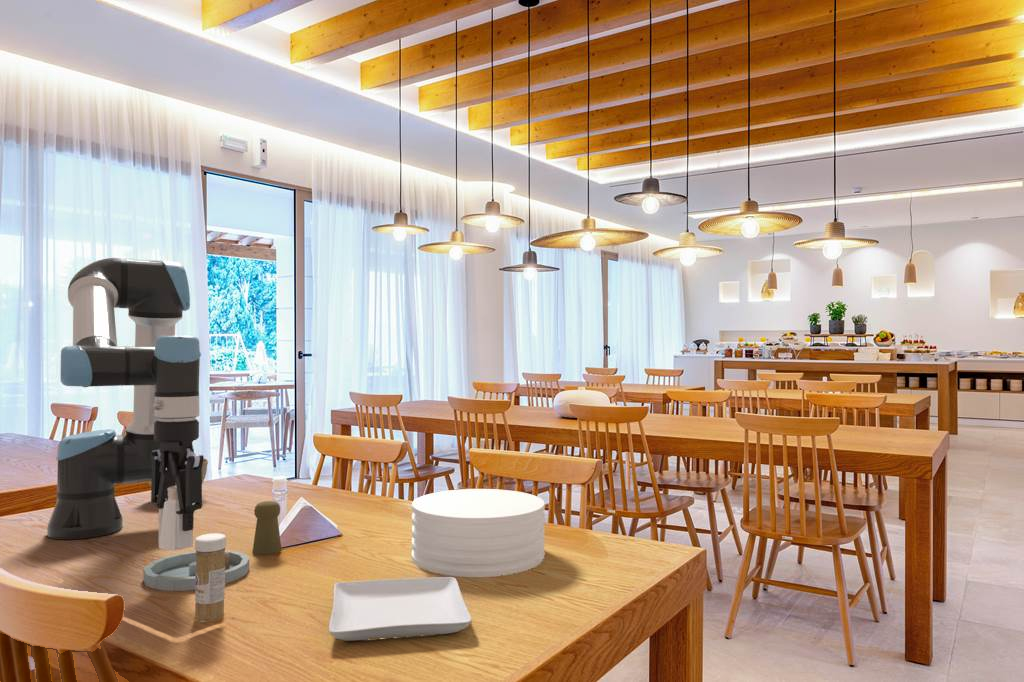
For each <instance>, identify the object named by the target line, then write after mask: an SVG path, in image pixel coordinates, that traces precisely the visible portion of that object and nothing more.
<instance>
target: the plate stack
mask: <svg viewBox="0 0 1024 682" xmlns="http://www.w3.org/2000/svg"><path fill="white" fill-rule="evenodd" d="M545 505H546V503H545V500H544V499H542V498H541V497H539V496H537V495H535V494H530V493H527V492H523V491H517V490H508V489H499V488H497V489H495V488H463V489H451V490H450V489H449V490H443V491H442V490H441V491H436V492H431V493H428V494H424V495H421V496H419V497H417V498H415V499H413V501H412V502H411V511H412V514H411V524H412V527H411V537H412V538H411V548H412V550H411V554H410V555H411V558H410V559H411V561H412V562H413V564H414V565H415V564H416V565H415V566H417V567H418V568H421V569H422V570H425V571H427V570H428V571H427V572H430V571H431V572H432V573H434V574H438V573H439V574H440V575H444V576H449V577H453V576H454V577H459V578H460V577H463V578H464V577H465V578H490V577H491V576H492V577H502V576H501V575H503V576H508V574H509V575H514V574H513V573H515V574H518V572H519V573H523V572H526V571H529V570H531V568H532V569H534V568H536V567H537V565H538V564H539V565H540V563H541V562H542V561H543V562H544V560H545V557H544V556H545V552H546V551H545V543H546V541H545V537H544V536H545V530H546V528H545V525H544V524H545V522H546V520H545V519H546V514H545V513H544V512H545V509H546V507H545ZM543 559H544V560H543ZM543 562H542V563H543ZM542 563H541V564H542ZM539 565H538V566H539ZM535 566H536V567H535ZM533 567H534V568H533ZM528 569H529V570H528ZM525 570H526V571H525ZM522 571H523V572H522Z"/></svg>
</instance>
